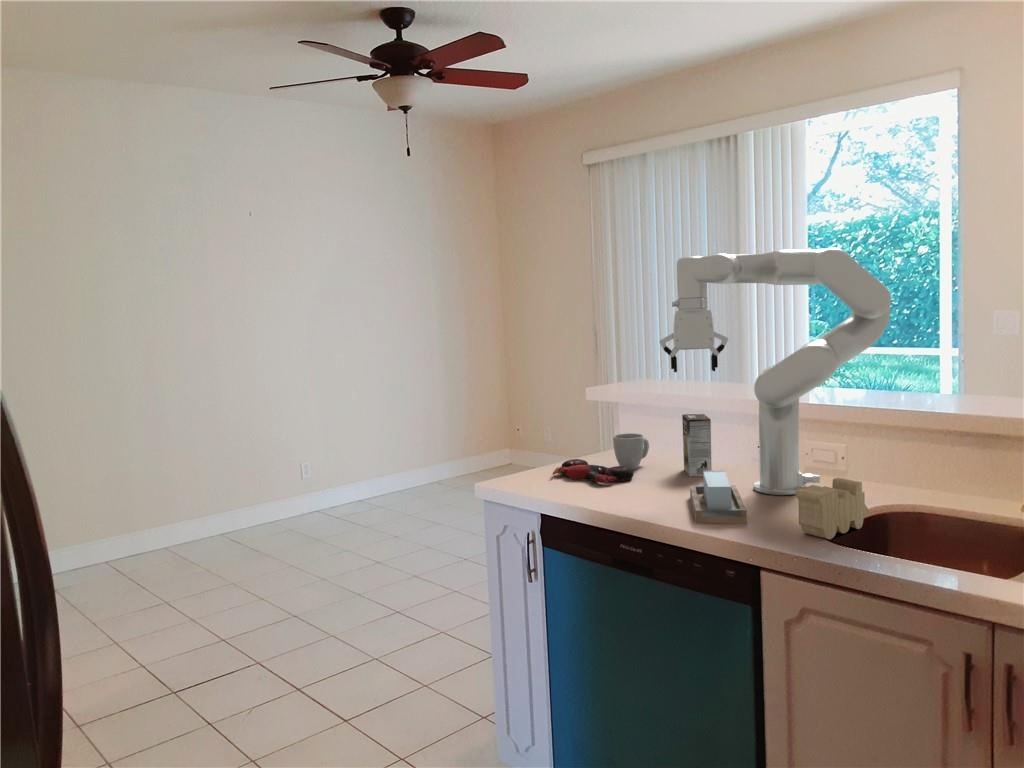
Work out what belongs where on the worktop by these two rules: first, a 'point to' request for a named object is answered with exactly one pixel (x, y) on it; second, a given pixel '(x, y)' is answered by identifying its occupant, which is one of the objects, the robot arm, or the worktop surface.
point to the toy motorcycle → (594, 471)
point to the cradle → (717, 515)
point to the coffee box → (696, 443)
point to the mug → (630, 449)
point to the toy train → (831, 508)
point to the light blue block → (717, 490)
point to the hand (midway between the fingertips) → (694, 371)
